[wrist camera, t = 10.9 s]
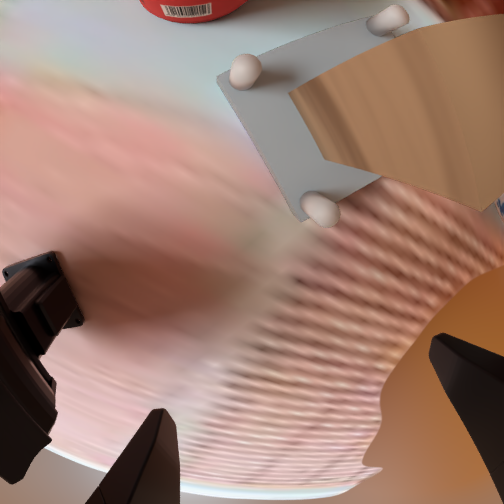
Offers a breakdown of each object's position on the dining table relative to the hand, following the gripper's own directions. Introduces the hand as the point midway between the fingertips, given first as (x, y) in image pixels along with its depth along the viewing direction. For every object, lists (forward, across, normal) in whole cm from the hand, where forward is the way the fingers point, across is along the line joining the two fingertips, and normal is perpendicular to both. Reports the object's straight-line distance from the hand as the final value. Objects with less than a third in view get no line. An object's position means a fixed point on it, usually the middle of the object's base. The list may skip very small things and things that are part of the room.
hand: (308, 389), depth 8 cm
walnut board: (+11, -7, -8) cm, 15 cm away
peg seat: (+13, -7, -8) cm, 17 cm away
